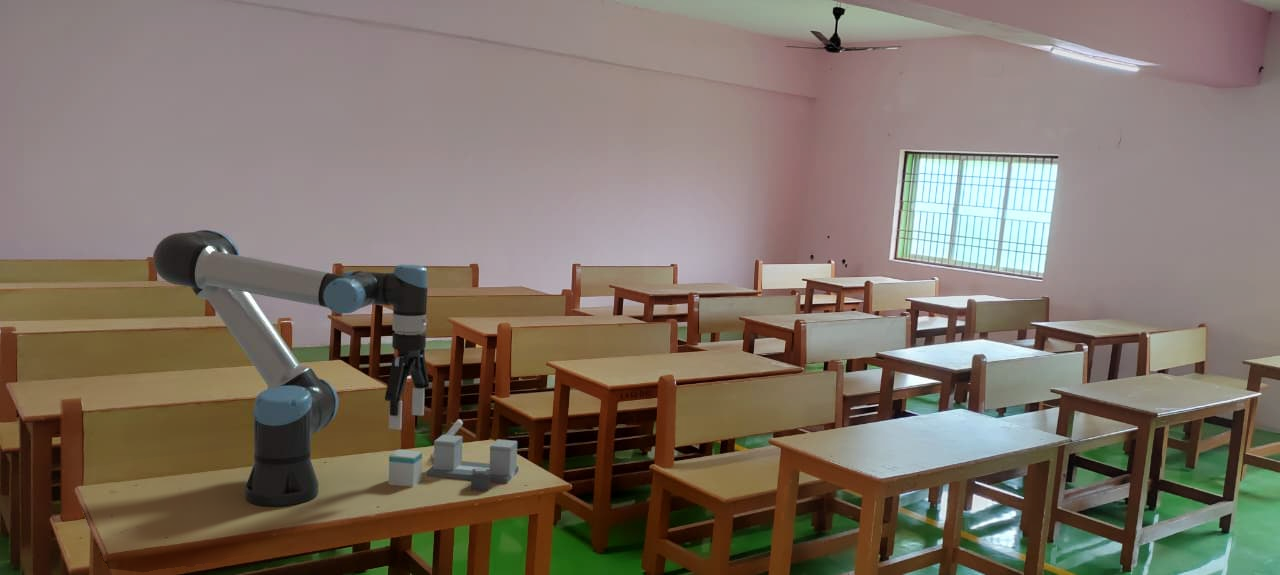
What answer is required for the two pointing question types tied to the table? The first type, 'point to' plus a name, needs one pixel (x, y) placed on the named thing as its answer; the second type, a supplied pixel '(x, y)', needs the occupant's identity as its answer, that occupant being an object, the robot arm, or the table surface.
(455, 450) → the rail board
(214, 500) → the table surface
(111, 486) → the table surface
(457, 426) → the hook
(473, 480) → the block
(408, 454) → the block
